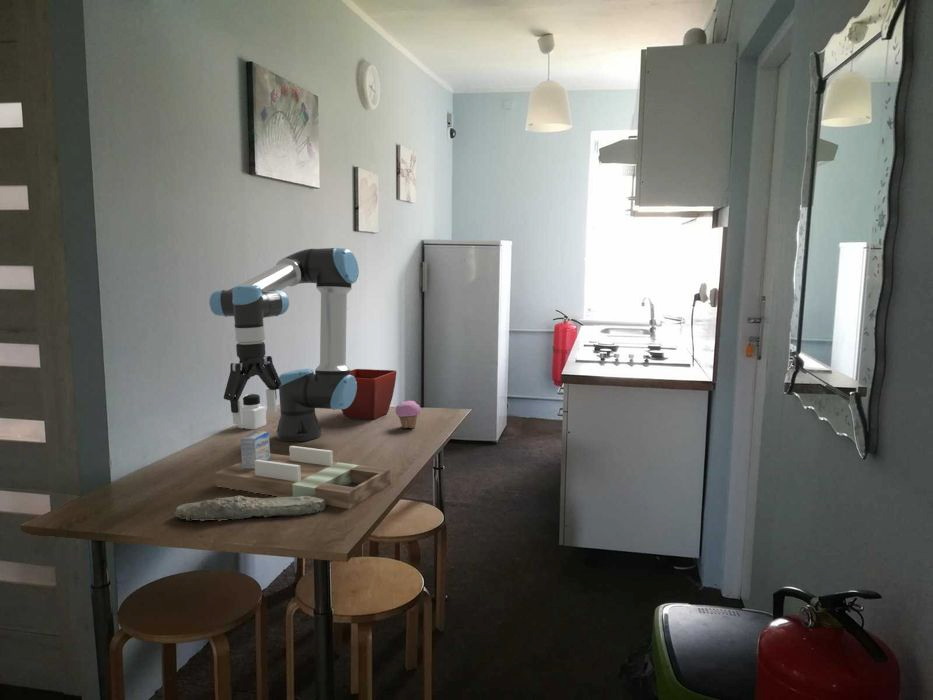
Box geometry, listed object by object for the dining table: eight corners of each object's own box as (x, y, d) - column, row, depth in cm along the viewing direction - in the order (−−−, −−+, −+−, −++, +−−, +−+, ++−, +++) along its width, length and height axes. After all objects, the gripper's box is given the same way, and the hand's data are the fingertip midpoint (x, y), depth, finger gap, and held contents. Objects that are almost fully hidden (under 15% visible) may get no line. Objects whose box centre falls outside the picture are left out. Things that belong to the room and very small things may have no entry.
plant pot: (331, 419, 256) (329, 376, 253) (357, 408, 273) (355, 368, 271) (375, 423, 249) (373, 378, 246) (399, 412, 266) (397, 370, 264)
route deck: (265, 465, 198) (265, 452, 198) (390, 483, 181) (390, 469, 180) (215, 486, 180) (214, 472, 180) (349, 508, 163) (348, 493, 162)
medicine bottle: (266, 425, 248) (265, 393, 246) (254, 429, 241) (253, 397, 240) (250, 423, 250) (248, 392, 249) (238, 428, 244) (236, 396, 242)
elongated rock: (324, 522, 159) (326, 509, 168) (324, 501, 158) (327, 489, 168) (169, 525, 153) (181, 511, 163) (169, 503, 153) (181, 490, 163)
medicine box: (256, 469, 182) (254, 438, 181) (241, 468, 183) (239, 438, 181) (270, 461, 189) (269, 431, 188) (256, 460, 190) (254, 430, 189)
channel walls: (292, 459, 191) (291, 445, 190) (333, 464, 185) (332, 450, 185) (255, 475, 177) (254, 460, 176) (298, 481, 171) (297, 466, 171)
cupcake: (421, 424, 245) (420, 398, 244) (420, 430, 237) (419, 403, 235) (396, 425, 245) (396, 398, 244) (395, 431, 236) (394, 403, 235)
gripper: (270, 335, 194) (274, 406, 198) (205, 348, 172) (211, 427, 175) (290, 336, 191) (295, 408, 195) (227, 349, 169) (233, 430, 172)
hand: (255, 417), depth 185 cm, fingers open, 13 cm apart
